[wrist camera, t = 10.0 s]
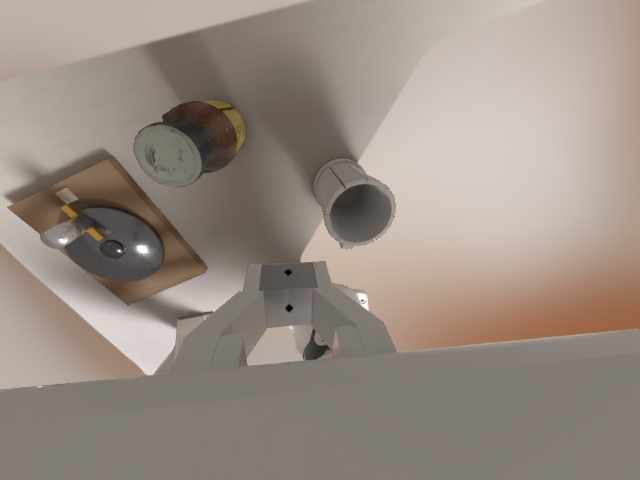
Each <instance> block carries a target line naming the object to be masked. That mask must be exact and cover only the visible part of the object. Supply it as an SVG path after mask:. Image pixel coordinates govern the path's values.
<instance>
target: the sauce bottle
mask: <svg viewBox="0 0 640 480" xmlns="http://www.w3.org/2000/svg"><path fill="white" fill-rule="evenodd" d="M162 118H163V122H158V123H153V124H151V125H149V126H147V127H145V128H143V129H142V130H140V131H139V133H138V135H137V136H136V137H135V143H134V153H135V156H136V159H137V161H138V163H139V165H140V166H141V168H142V169H143V170H144V172H145V173H146V174H147V175H148V176H150V177H151V178H152V179H153V180H154V181H156V182H158V183H160V184H163V185H166V186H171V187H184V186H187V185H189V184H192V183H193V182H194V181H196V180H197V179H198V178H200V176H201V175H202V174H203V173H210V172H214V171H217V170H219V169H221V168H223V167H224V166H226V165H227V164H228V163H229V162H230V161H231V160H232V159H233V158H234V156H235V154H236V153H237V152H238V150H239V149H240V147H241V146H242V144H243V143H244V140H245V138H246V125H245V122H244V120H243V118H242V116H241V115H240V113H239V112H238V111H237V110H236V109H235V107H233V106H232V105H230V104H228V103H226V102H223V101H219V100H210V101H192V102H188V103H184V104H180V105H178V106H176V107H174V108H172V109H171V110H170V111H169V112H167V113H166V114H164V115H163V116H162Z"/></svg>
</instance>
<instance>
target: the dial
mask: <svg viewBox="0 0 640 480" xmlns="http://www.w3.org/2000/svg"><path fill="white" fill-rule="evenodd" d="M61 209H62V210H63V211H64V212H65V213H66V214H68V215H69V217H68V218H67V219H66V220H65V221H64V222H62V223H60V224H58V225H56V226H55V227H53V228H51V229H49V230H47V231H45V232H43V233H42V234H41V235H40V238H41V241H42V242H43V243H44V244H45V245H47V246H49V247H51V248H55V249H60V248H63V247H64V249H65V251H66V252H67V254H68V255H69V256H70V258H71V259H72V260H73V261H74V262H75V263H77V264H78V265H79V266H80V267H82V268H83V269H85V270H86V271H88V272H90V273H92V274H94V275H96V276H99V277H101V278H104V279H108V280H112V281H119V282H134V281H139V280H143V279H145V278H148V277H149V276H151V275H153V274H154V273H155V272H156V271H157V270H158V268H159V267H160V266H161V264H162V263H163V260H164V256H165V249H164V245H163V242H162V240H161V238H160V236H159V235H158V233H157V232H156V231H155V229H154V228H153V227H152V226H151V225H150V224H149V223H147V222H146V221H145V220H143V219H142V218H140V217H139V216H137V215H135V214H133V213H131V212H128V211H126V210H123V209H119V208H115V207H110V206H93V207H88V208H84V209H82V210H79V211H78V212H77V211H76V210H75V209H74V208H73V207H72V206H70V205H69V204H66V205H64V206H63V207H61Z"/></svg>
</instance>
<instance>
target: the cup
mask: <svg viewBox="0 0 640 480" xmlns="http://www.w3.org/2000/svg"><path fill="white" fill-rule="evenodd" d="M314 194H315V197H316V199H317V201H318V203H319V204H320V205H321V206H322V211H323V216H324V222H325V225H326V228H327V230H328V232H329V234H330V235H331V236H332V237H333V238H334V239H335V240H337V241H338V242H339V244H340V247H341V249H352V248H354V246H360V245H366V244H368V243H371V242H373V241H374V239H375V240H377V239H378V238H379V237H381V236H382V235H383V234H384V233H385V232H386V231H387V230H388V228H389V227H390V226H391V224H392V221H393V219H394V217H395V216H394V215H395V211H396V203H395V199H394V195H393V193H392V192H391V191H390V189H389V188H388V187H387V186H386V185H385V184H383V183H381V182H380V181H378V180H376V179H375V178H373V177H371V176H369V175H367V174H366V172H365V171H364V169H363V168H362V167H361V166H360V165H359V164H357V163H356V162H354V161H353V160H349V159H345V158H341V159H334V160H332V161H330V162H328V163H326V164H325V165H324V166H323V167H322V168H321V169H320V170H319V172H318V173H317V175H316V177H315V181H314Z"/></svg>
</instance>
